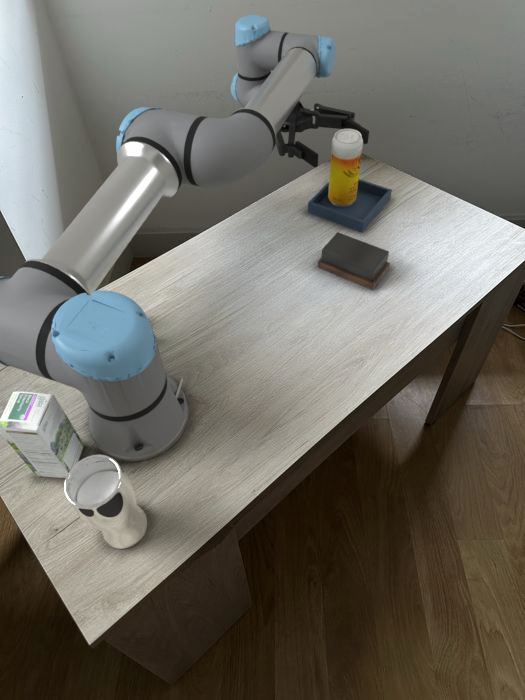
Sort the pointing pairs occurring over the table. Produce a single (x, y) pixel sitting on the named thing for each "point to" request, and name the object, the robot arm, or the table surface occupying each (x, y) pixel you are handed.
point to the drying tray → (352, 206)
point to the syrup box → (41, 434)
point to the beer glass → (106, 500)
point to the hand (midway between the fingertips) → (342, 149)
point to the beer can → (345, 167)
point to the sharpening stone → (354, 260)
